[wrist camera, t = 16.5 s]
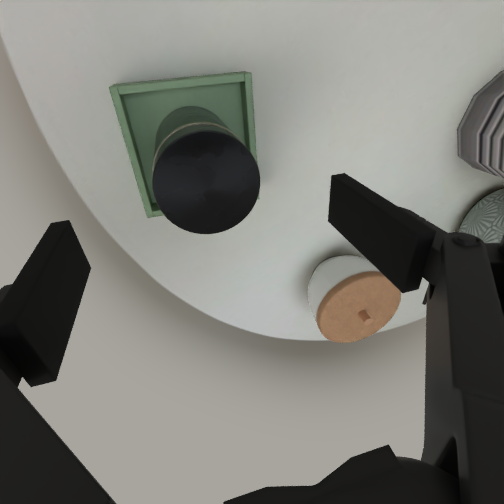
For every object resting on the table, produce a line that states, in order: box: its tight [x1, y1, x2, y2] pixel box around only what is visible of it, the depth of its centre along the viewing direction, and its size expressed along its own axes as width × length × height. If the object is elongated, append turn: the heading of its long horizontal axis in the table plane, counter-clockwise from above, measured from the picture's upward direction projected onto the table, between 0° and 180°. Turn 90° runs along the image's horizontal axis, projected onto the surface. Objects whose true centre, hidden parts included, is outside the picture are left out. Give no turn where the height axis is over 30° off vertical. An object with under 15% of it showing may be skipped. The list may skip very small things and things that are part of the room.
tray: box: [109, 71, 259, 218], centre depth 28 cm, size 11×11×3 cm
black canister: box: [152, 106, 260, 234], centre depth 24 cm, size 7×7×11 cm
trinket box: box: [307, 255, 401, 343], centre depth 39 cm, size 11×11×9 cm
